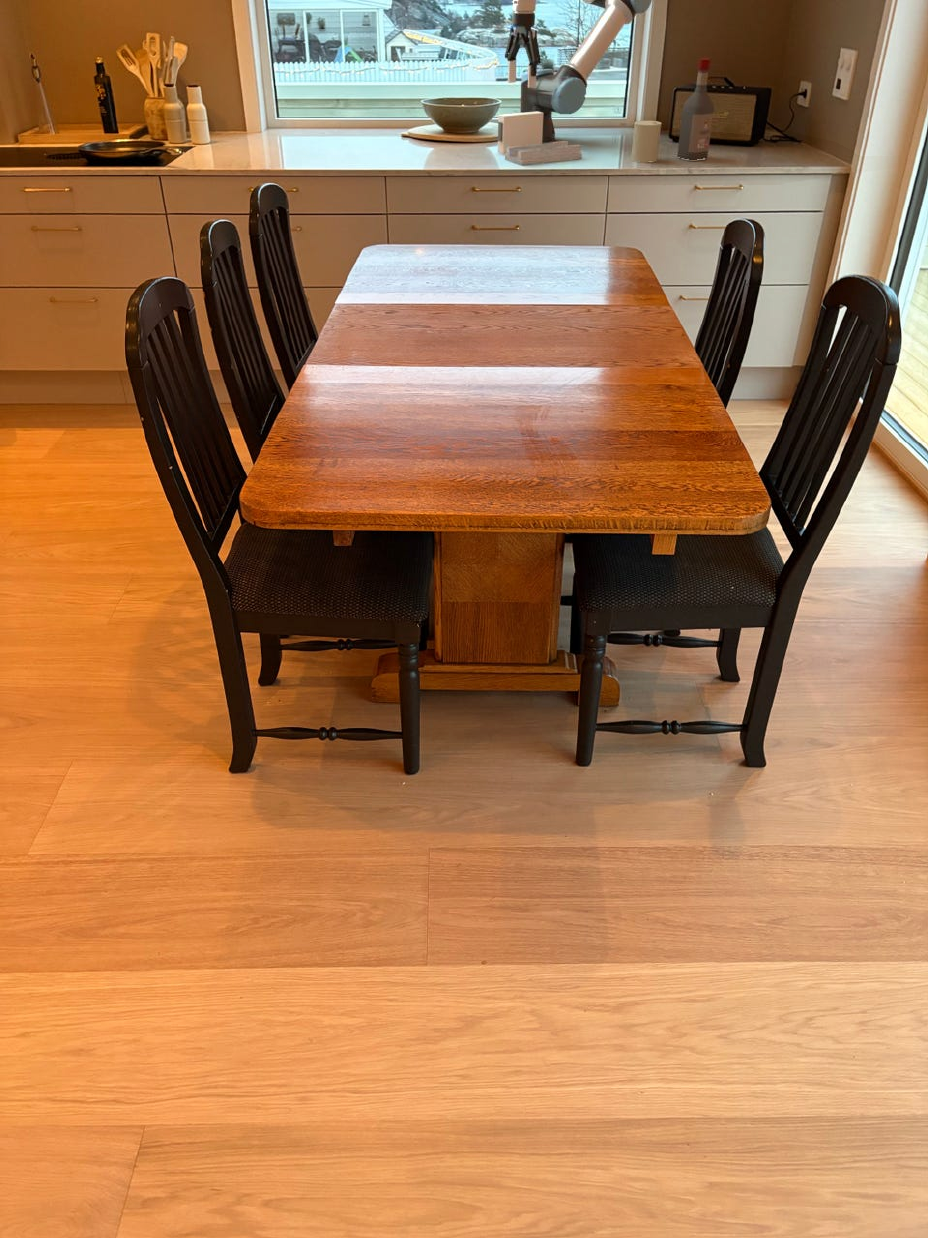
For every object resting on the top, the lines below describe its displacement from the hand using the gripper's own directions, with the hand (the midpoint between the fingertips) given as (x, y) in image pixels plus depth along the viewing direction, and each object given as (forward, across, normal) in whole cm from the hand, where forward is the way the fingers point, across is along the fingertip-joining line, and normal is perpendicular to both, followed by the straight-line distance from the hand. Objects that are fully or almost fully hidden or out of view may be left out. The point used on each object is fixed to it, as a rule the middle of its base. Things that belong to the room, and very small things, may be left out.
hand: (521, 84), depth 326 cm
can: (+21, +34, +30) cm, 50 cm away
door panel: (+21, 0, 0) cm, 21 cm away
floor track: (+21, +16, 0) cm, 26 cm away
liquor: (+21, +40, +46) cm, 65 cm away
